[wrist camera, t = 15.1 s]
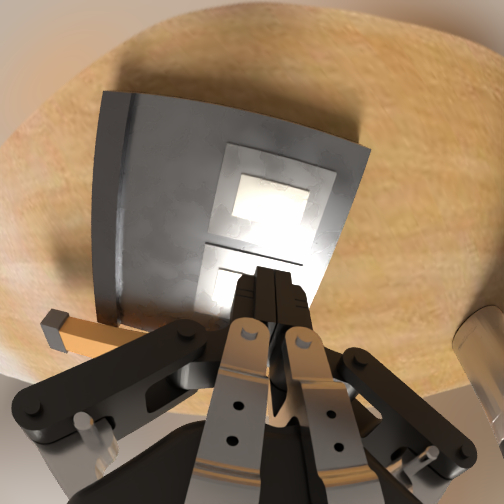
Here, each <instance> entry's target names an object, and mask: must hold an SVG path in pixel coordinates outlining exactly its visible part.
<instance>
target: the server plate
mask: <svg viewBox="0 0 504 504" xmlns="http://www.w3.org/2000/svg"><path fill="white" fill-rule="evenodd" d="M370 152H371V149H369V148H367V147H365V146H363V145H361V144H359V143H356V142H353V141H351V140H348V139H345V138H342V137H339V136H336V135H333V134H330V133H327V132H324V131H321V130H318V129H315V128H312V127H308V126H305V125H302V124H298V123H295V122H291V121H288V120H284V119H280V118H277V117H273V116H269V115H265V114H261V113H257V112H253V111H249V110H244V109H240V108H235V107H230V106H226V105H221V104H216V103H210V102H205V101H199V100H193V99H187V98H181V97H174V96H166V95H159V94H150V93H141V92H131V91H103V95H102V100H101V107H100V113H99V120H98V128H97V136H96V145H95V155H94V167H93V183H92V211H91V238H92V266H93V282H94V294H95V305H96V314H97V322H99V323H102V324H105V325H108V326H112V327H117V328H118V327H119V325H120V324H123V325H127V326H130V327H133V328H137V329H140V330H144V331H148V332H152V331H154V330H156V329H158V328H160V327H162V326H164V325H166V324H169V323H171V322H173V321H175V320H179V319H189V320H193V321H196V322H198V323H200V324H201V325H202V326H203V327H204V328H205V329H206V331H217V330H221V329H223V328H225V327H227V326H228V324H229V318H230V311H231V305H232V301H233V296H234V292H235V288H236V283H237V280H238V279H239V278H240V277H241V276H242V275H243V274H245V275H250V276H254V273H255V269H256V266H257V265H258V266H263V267H268V268H273V269H278V270H283V271H288V272H291V276H292V283H293V284H296V285H300V286H301V287H302V288H303V290H304V291H305V292H306V296H307V303H308V306H309V307H310V305H311V302H312V300H313V298H314V296H315V293H316V291H317V289H318V287H319V284H320V282H321V280H322V278H323V275H324V273H325V271H326V268H327V266H328V263H329V261H330V259H331V256H332V254H333V251H334V249H335V247H336V244H337V242H338V239H339V237H340V234H341V232H342V229H343V227H344V224H345V221H346V219H347V216H348V214H349V211H350V208H351V206H352V203H353V200H354V198H355V195H356V192H357V189H358V187H359V184H360V181H361V178H362V175H363V173H364V170H365V167H366V164H367V161H368V158H369V155H370Z"/></svg>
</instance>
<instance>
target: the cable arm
mask: <svg viewBox="0 0 504 504" xmlns="http://www.w3.org/2000/svg"><path fill="white" fill-rule="evenodd" d="M40 325H41V327H42V330H43V332H44V334H45V337H46V339H47V341H48V344H49V346H50V348H52V349H55V350H58V351H61V352H64V353H68V351H71V352H74V353H77V354H81V355H84V356H88V357H91V358H95V357H98V356H100V355H102V354H104V353H106V352H109V351H111V350H113V349H115V348H117V347H120V346H122V345H124V344H126V343H128V342H130V341H132V340H135V339H137V338H139V337H141V336H143V335H145V334H147V333H142V332H137V331H132V330H127V329H122V328H117V327H112V326H108V325H103V324H99V323H94V322H90V321H86V320H82V319H78V318H74V317H70V316H69V313H67V312H63V311H59V310H55V309H51V310H50V311H49V313H48V314H47V315H46V317H45V318H44V319H43V320H42V322H41V323H40Z"/></svg>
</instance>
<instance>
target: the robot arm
mask: <svg viewBox="0 0 504 504" xmlns="http://www.w3.org/2000/svg"><path fill="white" fill-rule="evenodd" d="M452 348H453V351H454V353H455V354H456V356H457V358H458V360H459V362H460V363H461V365H462V367H463V369H464V371H465V373H466V375H467V377H468V379H469V381H470V383H471V385H472V387H473V389H474V391H475V393H476V395H477V397H478V399H479V401H480V403H481V405H482V407H483V409H484V412H485V414H486V416H487V418H488V420H489V423H490V425H491V427H492V429H493V432H494V435H495V437H496V439H497V442H498V444H499V447H500V450H501V452H502V455H503V458H504V314H503V313H502V312H501V310H500V309H499V308H498V307H497V306H487V307H484V308H482V309H480V310H478V311H477V312H475V313H474V314H473V315H472V316H470V317H469V318H468V319H467V320H466V321H465V322H464V323H463V325H462V326H461V327H460V328H459V330H458V332H457V333H456V335H455V337H454V340H453V344H452ZM267 367H269V375H268V377H267V376H266V368H267ZM202 388H214V390H213V394H212V398H211V402H210V406H209V410H208V414H207V418H206V420H202V421H197V422H192V423H189V424H186V425H183V426H181V427H179V428H177V429H175V430H174V431H172V432H171V433H169V434H168V435H167V436H165V437H164V438H162V439H161V440H160V441H158V442H157V443H155V444H154V445H152V446H151V447H149V448H148V449H146V450H145V451H143V452H142V453H140V454H139V455H137V456H136V457H134V458H133V459H131V460H130V461H128V462H126V463H125V464H123V465H122V466H120V467H119V468H117V469H116V470H114V471H112V472H110V473H109V474H107V475H106V476H104V477H103V474H104V471H105V470H106V468H107V467H108V466H109V465H110V464H111V463H113V462H114V461H115V460H116V458H117V456H118V452H119V446H118V443H117V441H118V440H120V439H121V438H123V437H125V436H126V435H128V434H130V433H132V432H133V431H135V430H137V429H139V428H140V427H142V426H144V425H145V424H147V423H149V422H150V421H152V420H154V419H155V418H157V417H159V416H160V415H162V414H163V413H165V412H167V411H168V410H170V409H171V408H173V407H175V406H176V405H178V404H179V403H181V402H182V401H184V400H185V399H187V398H189V397H190V396H192V395H193V394H195V393H196V392H197V391H198V389H202ZM358 394H361V395H362V396H363V397H364V398H365V399H366V400H367V401H368V402H369V403H370V404H371V405H372V406H374V407H375V408H376V409H377V410H378V411H379V412H380V413H381V415H382V419H378V418H376V417H375V416H374V415H373V414H372V413H371V412H369V410H368V409H366V408H365V407H364V406H363V405H362V404H361V403H360V402H359V401H358V400H357V399H356V398H355V397H356V396H357V395H358ZM267 401H268V413H269V425H268V424H265V418H266V408H267ZM12 415H13V417H14V419H15V421H16V422H17V423H18V425H19V426H20V427H21V428H22V429H23V431H24V433H25V434H26V436H27V437H28V438H29V439H30V440H31V441H32V443H33V444H34V445H35V446H36V447H37V448H38V450H39V451H40V453H41V455H42V457H43V458H44V460H45V462H46V464H47V466H48V467H49V469H50V471H51V472H52V474H53V476H54V477H55V479H56V480H57V482H58V483H59V485H60V486H61V488H62V490H63V491H64V493H65V494H66V495H67V497H68V498H69V501H68V503H67V504H437V503H438V502H439V500H440V499H441V497H442V495H443V494H444V492H445V491H446V489H447V487H448V486H449V484H450V482H451V481H452V480H453V479H454V478H456V477H457V476H459V475H460V474H462V473H463V472H465V471H466V470H468V469H469V468H471V467H472V466H473V465H474V464H475V462H476V460H477V451H476V448H475V445H474V444H473V442H472V441H471V440H470V439H468V438H467V437H466V436H465V435H464V434H463V433H461V432H460V431H459V430H458V429H457V428H455V427H454V426H453V425H452V424H451V423H450V422H449V421H448V420H446V419H445V418H444V417H443V416H442V415H441V414H439V413H438V412H437V411H436V410H435V409H434V408H432V407H431V406H430V405H429V404H428V403H427V402H426V401H424V400H423V399H422V398H421V397H420V396H419V395H417V394H416V393H415V392H414V391H413V390H412V389H410V388H409V387H408V386H407V385H406V384H405V383H404V382H402V381H401V380H400V379H399V378H398V377H397V376H395V375H394V374H393V373H392V372H391V371H390V370H388V369H387V368H386V367H385V366H384V365H383V364H382V363H380V362H379V361H378V360H377V359H376V358H375V357H373V356H372V355H371V354H370V353H369V352H367V351H366V350H363V349H361V348H356V347H352V348H348V349H347V350H345V352H344V353H343V354H341V353H338V352H335V351H333V350H330V349H328V348H326V347H324V346H323V343H322V340H321V338H320V336H319V335H318V334H317V333H316V332H314V331H313V328H312V322H311V317H310V311H309V306H308V303H307V296H306V292H305V291H304V290H303V288H302V287H301V286H300V285H296V284H293V283H292V276H291V272H288V271H283V270H278V269H273V268H268V267H263V266H258V265H257V266H256V269H255V273H254V276H250V275H245V274H243V275H242V276H241V277H240V278H239V279H238V280H237V283H236V288H235V292H234V296H233V301H232V305H231V311H230V318H229V324H228V326H227V327H225V328H223V329H221V330H217V331H206V329H205V328H204V327H203V326H202V325H201V324H200V323H198V322H196V321H193V320H189V319H179V320H175V321H173V322H171V323H169V324H166V325H164V326H162V327H160V328H158V329H156V330H154V331H152V332H150V333H147V334H145V335H143V336H141V337H139V338H137V339H135V340H132V341H130V342H128V343H126V344H124V345H122V346H120V347H117V348H115V349H113V350H111V351H109V352H106V353H104V354H102V355H100V356H98V357H95V358H93V359H91V360H89V361H87V362H84V363H82V364H80V365H78V366H75V367H73V368H71V369H69V370H66V371H64V372H62V373H59V374H57V375H55V376H53V377H50V378H48V379H46V380H43V381H41V382H39V383H36V384H34V385H32V386H29V387H27V388H24V389H23V390H21V391H19V392H18V393H17V395H16V396H15V397H14V399H13V401H12Z"/></svg>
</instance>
